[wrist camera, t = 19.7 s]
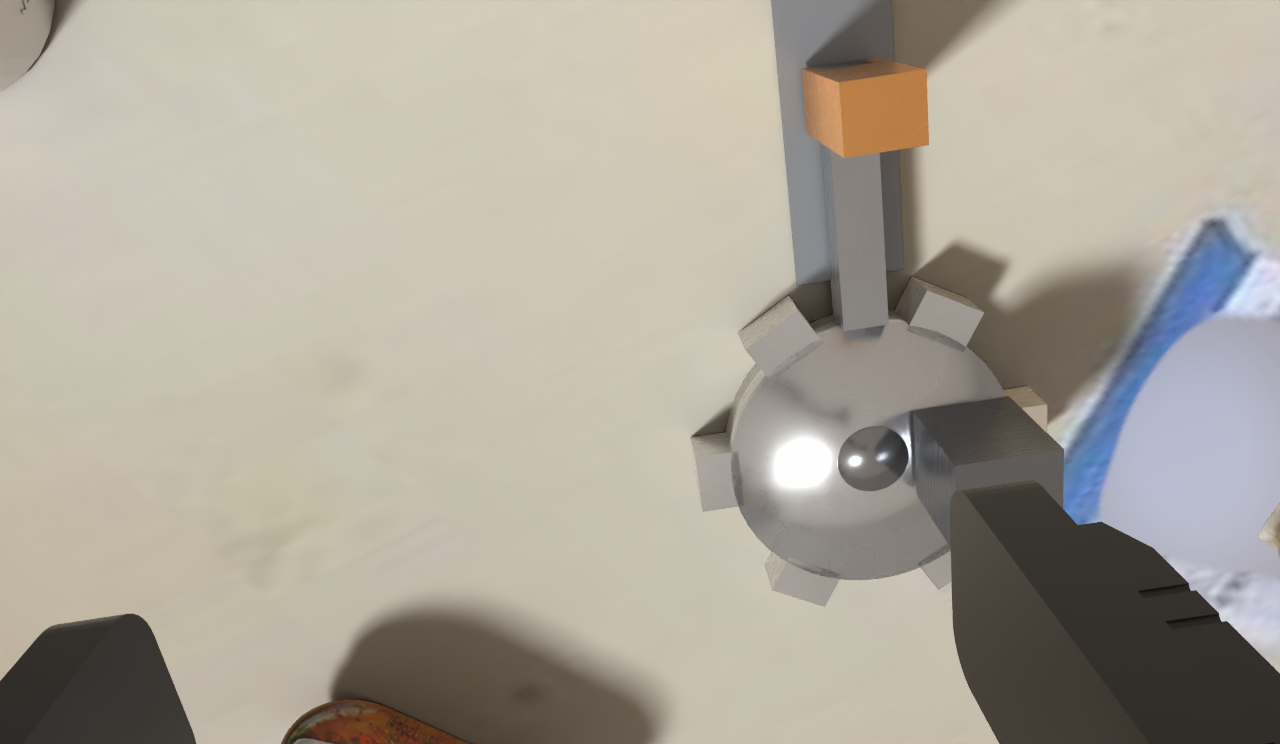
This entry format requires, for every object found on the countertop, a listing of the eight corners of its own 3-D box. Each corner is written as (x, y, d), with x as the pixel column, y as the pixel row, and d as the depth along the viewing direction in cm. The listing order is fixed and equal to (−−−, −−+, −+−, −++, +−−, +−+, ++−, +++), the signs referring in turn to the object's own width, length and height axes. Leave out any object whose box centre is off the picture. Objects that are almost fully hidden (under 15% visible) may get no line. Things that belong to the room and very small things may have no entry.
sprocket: (713, 596, 45) (718, 624, 43) (673, 313, 40) (677, 329, 38) (1026, 549, 45) (1046, 575, 43) (1027, 258, 40) (1050, 272, 38)
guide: (796, 283, 40) (797, 285, 40) (760, -119, 34) (761, -119, 34) (902, 267, 40) (903, 268, 40) (883, -138, 34) (884, -139, 34)
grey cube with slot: (916, 495, 41) (958, 560, 37) (912, 411, 40) (955, 467, 35) (1009, 481, 41) (1064, 544, 37) (1008, 395, 40) (1065, 450, 35)
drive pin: (821, 319, 40) (858, 372, 34) (800, 68, 36) (838, 82, 31) (888, 308, 40) (936, 359, 34) (874, 57, 36) (926, 68, 31)
